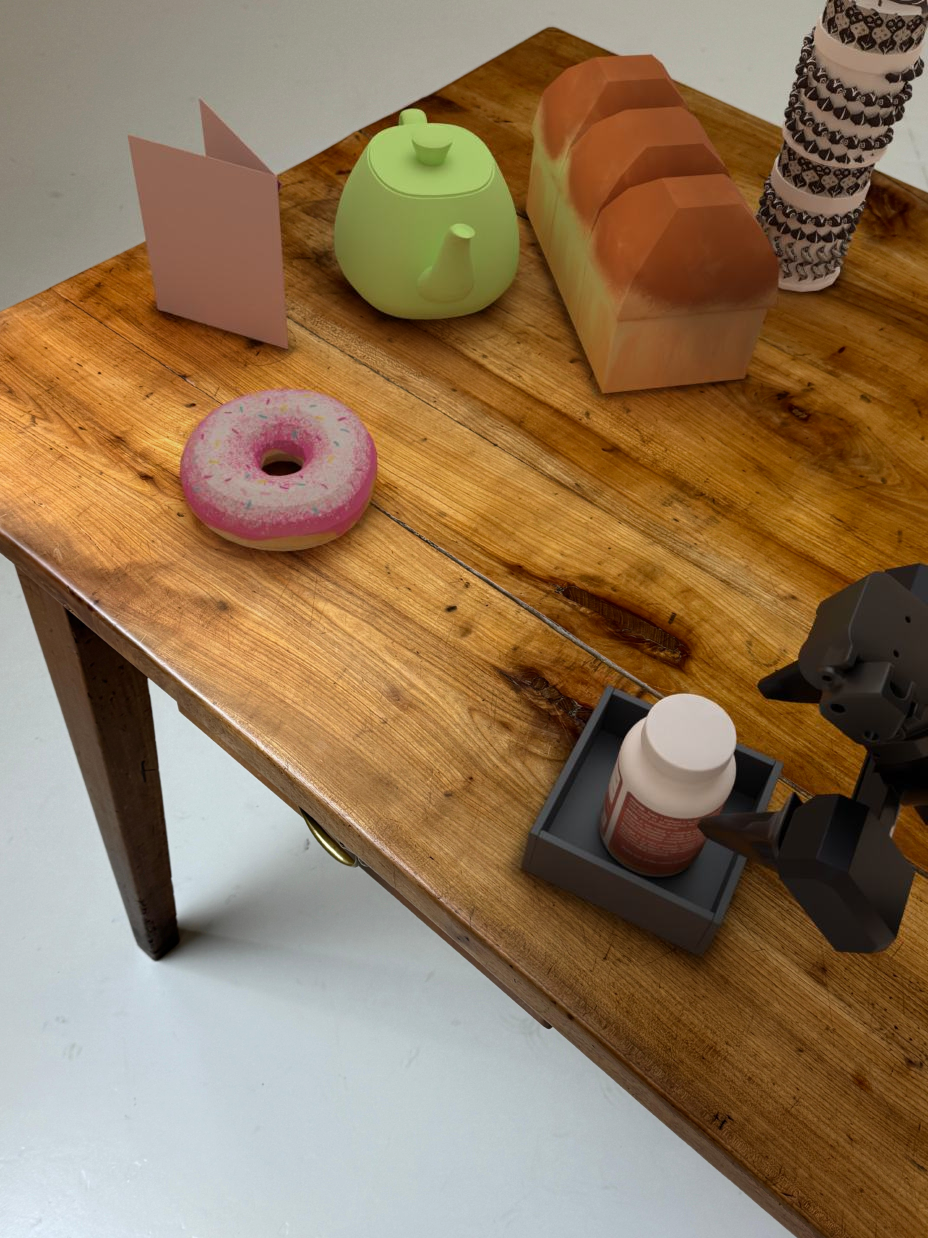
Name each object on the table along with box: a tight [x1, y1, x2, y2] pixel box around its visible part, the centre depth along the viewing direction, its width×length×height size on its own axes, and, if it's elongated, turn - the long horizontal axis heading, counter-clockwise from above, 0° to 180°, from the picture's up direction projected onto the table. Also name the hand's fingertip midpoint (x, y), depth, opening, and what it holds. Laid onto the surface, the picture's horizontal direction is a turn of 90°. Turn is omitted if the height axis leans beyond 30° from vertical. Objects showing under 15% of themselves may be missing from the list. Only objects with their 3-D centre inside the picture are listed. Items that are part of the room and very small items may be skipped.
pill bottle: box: [599, 693, 737, 877], centre depth 64 cm, size 6×6×11 cm
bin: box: [520, 684, 785, 958], centre depth 67 cm, size 11×11×4 cm
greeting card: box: [127, 96, 289, 350], centre depth 87 cm, size 11×7×15 cm, turn 35°
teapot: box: [333, 108, 521, 320], centre depth 92 cm, size 22×15×13 cm
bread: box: [525, 53, 780, 394], centre depth 93 cm, size 25×12×15 cm, turn 13°
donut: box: [179, 388, 378, 552], centre depth 81 cm, size 14×13×5 cm
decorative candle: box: [754, 0, 928, 293], centre depth 93 cm, size 9×9×25 cm
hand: (732, 756), depth 59 cm, fingers open, 9 cm apart
